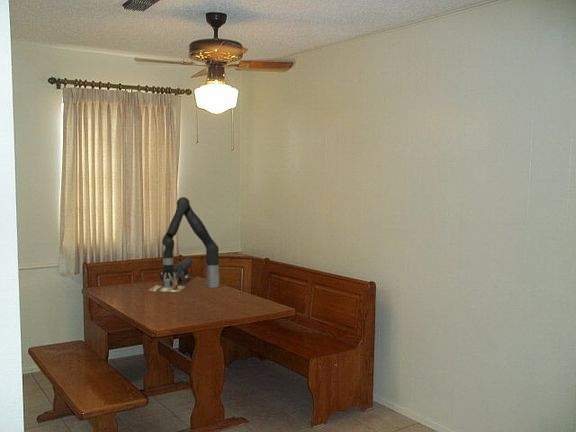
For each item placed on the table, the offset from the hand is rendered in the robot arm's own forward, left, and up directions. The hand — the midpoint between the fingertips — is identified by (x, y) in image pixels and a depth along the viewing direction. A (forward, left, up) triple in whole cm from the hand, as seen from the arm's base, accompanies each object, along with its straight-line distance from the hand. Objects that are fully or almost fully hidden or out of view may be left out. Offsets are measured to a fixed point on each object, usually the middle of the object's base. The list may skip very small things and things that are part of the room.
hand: (168, 285), depth 411 cm
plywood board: (-1, +3, -2) cm, 4 cm away
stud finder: (0, 0, -1) cm, 1 cm away
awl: (-8, +8, -1) cm, 11 cm away
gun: (-5, -16, -2) cm, 17 cm away
